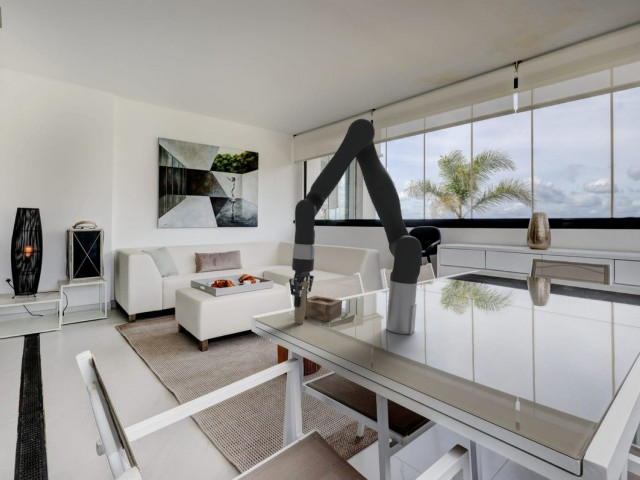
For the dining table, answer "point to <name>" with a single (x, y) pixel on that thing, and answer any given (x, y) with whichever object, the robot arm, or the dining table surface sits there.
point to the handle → (301, 310)
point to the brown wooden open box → (323, 308)
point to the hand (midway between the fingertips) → (300, 305)
